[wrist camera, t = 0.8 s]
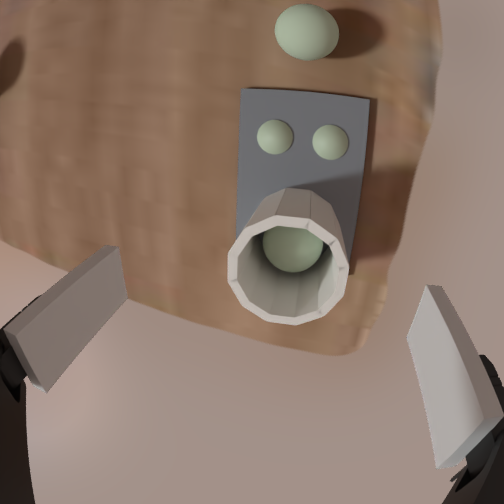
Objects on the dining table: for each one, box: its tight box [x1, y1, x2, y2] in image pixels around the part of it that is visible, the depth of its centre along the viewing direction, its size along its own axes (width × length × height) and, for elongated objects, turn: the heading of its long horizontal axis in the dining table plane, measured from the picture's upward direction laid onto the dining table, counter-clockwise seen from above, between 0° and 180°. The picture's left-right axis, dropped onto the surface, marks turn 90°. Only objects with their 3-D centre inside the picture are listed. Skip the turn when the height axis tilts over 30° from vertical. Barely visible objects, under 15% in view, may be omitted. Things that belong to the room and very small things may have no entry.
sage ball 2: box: [263, 226, 323, 272], centre depth 31 cm, size 6×6×6 cm
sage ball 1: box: [275, 4, 339, 60], centre depth 23 cm, size 6×6×6 cm
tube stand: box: [228, 89, 370, 325], centre depth 27 cm, size 20×13×11 cm, turn 178°
